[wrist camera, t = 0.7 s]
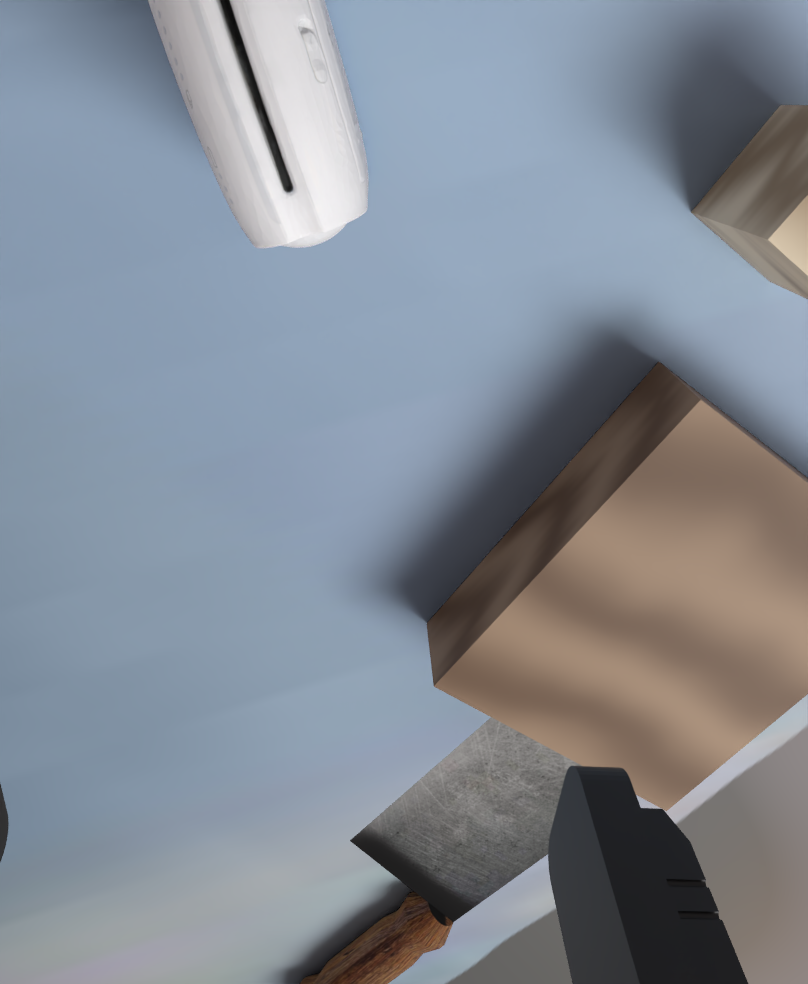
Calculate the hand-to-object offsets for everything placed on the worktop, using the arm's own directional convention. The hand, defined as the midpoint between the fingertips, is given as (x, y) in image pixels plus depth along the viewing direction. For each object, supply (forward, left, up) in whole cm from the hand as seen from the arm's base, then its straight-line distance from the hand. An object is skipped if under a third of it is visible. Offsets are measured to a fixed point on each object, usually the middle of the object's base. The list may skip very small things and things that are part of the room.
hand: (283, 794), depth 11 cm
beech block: (-15, +12, -26) cm, 32 cm away
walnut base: (+2, +21, -26) cm, 33 cm away
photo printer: (-7, -7, -26) cm, 28 cm away
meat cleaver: (+26, +23, -27) cm, 44 cm away
